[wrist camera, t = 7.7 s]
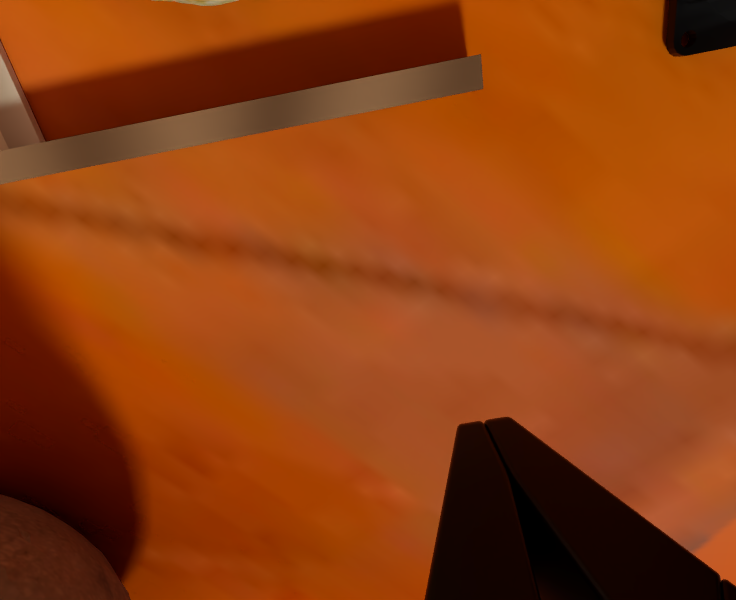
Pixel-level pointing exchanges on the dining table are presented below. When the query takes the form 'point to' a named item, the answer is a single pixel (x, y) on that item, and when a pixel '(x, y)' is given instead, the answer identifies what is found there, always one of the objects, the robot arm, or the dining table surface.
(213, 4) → the bread roll
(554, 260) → the dining table surface
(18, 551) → the ceramic bowl
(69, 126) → the dining table surface
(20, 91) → the brown open frame
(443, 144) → the dining table surface
